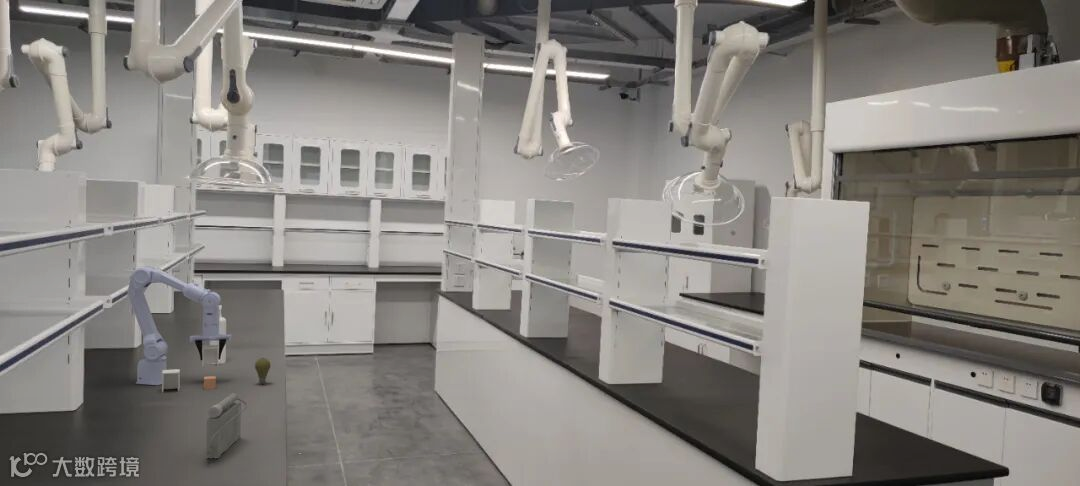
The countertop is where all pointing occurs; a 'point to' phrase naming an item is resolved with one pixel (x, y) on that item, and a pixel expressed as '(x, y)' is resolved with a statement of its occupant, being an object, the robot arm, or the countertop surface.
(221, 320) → the white bottle
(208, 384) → the cube
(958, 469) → the countertop surface
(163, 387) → the left cover
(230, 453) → the countertop surface
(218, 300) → the robot arm
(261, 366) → the light bulb
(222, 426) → the geiger counter
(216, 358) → the right cover
